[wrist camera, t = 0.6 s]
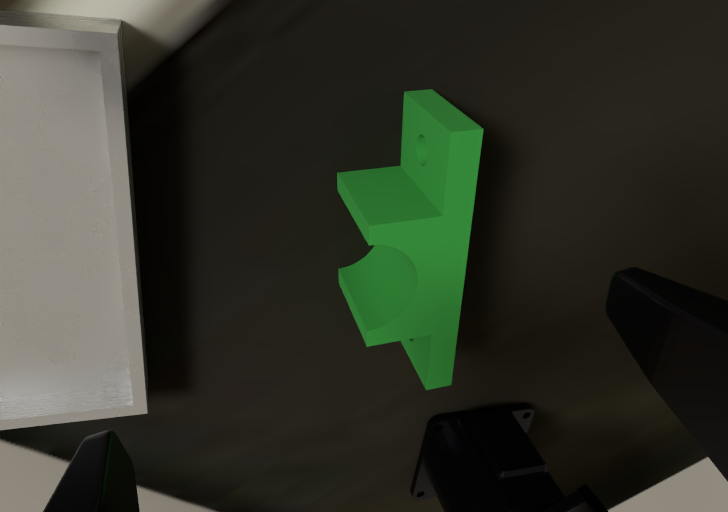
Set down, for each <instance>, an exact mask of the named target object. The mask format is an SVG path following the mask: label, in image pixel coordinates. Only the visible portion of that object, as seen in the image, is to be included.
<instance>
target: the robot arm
mask: <svg viewBox="0 0 728 512" xmlns="http://www.w3.org/2000/svg"><path fill="white" fill-rule="evenodd" d="M605 307H606V313H607V315H608V317H609V319H610V321H611V322H612V324H613V325H614V327H615V329H616V330H617V332H618V333H619V335H620V336H621V338H622V340H623V341H624V343H625V344H626V346H627V347H628V349H629V351H630V352H631V354H632V355H633V357H634V359H635V360H636V362H637V363H638V365H639V366H640V368H641V370H642V371H643V373H644V374H645V376H646V377H647V379H648V380H649V381H650V383H651V384H652V386H653V387H654V388H655V390H656V391H657V392H658V394H659V395H660V396H661V398H662V399H663V400H664V401H665V403H666V404H667V405H668V406H669V408H670V409H671V410H672V411H673V413H674V414H675V415H676V417H677V418H678V419H679V420H680V422H681V423H682V424H683V425H684V427H685V428H686V429H687V430H688V432H689V433H690V434H691V436H692V437H693V438H694V439H695V441H696V442H697V443H698V444H699V446H700V447H701V448H702V449H703V451H704V452H705V453H706V455H707V456H708V457H709V458H710V459H711V461H712V462H713V463H714V465H715V466H716V467H717V468H718V470H719V471H720V472H721V473H722V475H723V476H724V477H725V479H726V480H727V481H728V301H727V300H724V299H721V298H718V297H716V296H713V295H710V294H708V293H705V292H702V291H699V290H697V289H694V288H691V287H689V286H686V285H683V284H680V283H678V282H675V281H672V280H670V279H667V278H664V277H662V276H659V275H656V274H653V273H651V272H648V271H645V270H643V269H640V268H636V267H631V268H627V269H624V270H621V271H618V272H615V273H614V274H613V275H612V277H611V280H610V285H609V289H608V294H607V299H606V304H605ZM533 416H534V410H533V409H532V407H531V406H530V405H529V404H522V405H515V406H507V407H500V408H492V409H485V410H477V411H470V412H462V413H455V414H448V415H440V416H435V417H433V418H431V419H430V420H429V421H428V423H427V427H426V431H425V435H424V439H423V443H422V447H421V451H420V455H419V458H418V462H417V466H416V470H415V474H414V478H413V482H412V486H411V490H410V492H411V494H412V497H413V498H414V499H415V500H420V499H426V498H431V497H438V499H439V501H440V503H441V506H442V508H443V510H444V512H608V511H607V510H606V508H605V507H604V506H603V504H602V503H601V502H600V501H599V499H598V498H597V497H596V496H595V494H594V493H593V492H592V491H591V489H590V488H589V487H588V486H587V484H584V485H583V486H581V487H579V488H577V491H576V492H574V493H573V494H571V495H569V496H567V497H565V496H564V495H563V493H562V492H561V490H560V489H559V487H558V486H557V484H556V483H555V481H554V479H553V478H552V476H551V475H550V473H549V472H548V470H547V469H548V466H547V464H546V463H545V461H544V460H543V458H542V457H541V455H540V454H539V452H538V451H537V449H536V448H535V446H534V445H533V443H532V442H531V440H530V439H529V437H528V436H527V432H528V429H529V427H530V424H531V421H532V419H533ZM43 512H139V504H138V496H137V487H136V479H135V472H134V467H133V463H132V461H131V458H130V457H129V455H128V453H127V452H126V450H125V448H124V447H123V445H122V443H121V441H120V440H119V438H118V436H117V435H116V433H115V432H113V431H112V430H107V431H104V432H100V433H97V434H94V435H91V436H88V437H86V438H85V439H84V440H83V441H82V443H81V444H80V446H79V448H78V450H77V451H76V453H75V455H74V457H73V459H72V460H71V462H70V464H69V466H68V468H67V470H66V471H65V473H64V475H63V477H62V478H61V480H60V482H59V484H58V486H57V487H56V489H55V491H54V493H53V495H52V496H51V498H50V500H49V502H48V504H47V506H46V507H45V509H44V511H43Z"/></svg>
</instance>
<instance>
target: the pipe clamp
mask: <svg viewBox="0 0 728 512" xmlns="http://www.w3.org/2000/svg"><path fill="white" fill-rule="evenodd" d="M482 137H483V128H482V127H480V126H479V125H478V124H476V123H475V122H474V121H473V120H471V119H470V118H469V117H467V116H466V115H465V114H463V113H462V112H461V111H460V110H458V109H457V108H456V107H454V106H453V105H452V104H450V103H449V102H448V101H447V100H445V99H444V98H443V97H441V96H440V95H439V94H437V93H436V92H435V91H433V90H419V91H406V92H404V106H403V127H402V148H401V166H395V167H386V168H377V169H368V170H359V171H350V172H341V173H337V186H338V192H339V194H340V195H341V197H342V199H343V201H344V202H345V204H346V206H347V208H348V209H349V211H350V213H351V215H352V217H353V218H354V220H355V222H356V224H357V225H358V227H359V229H360V231H361V232H362V234H363V236H364V238H365V239H366V241H367V243H368V245H375V246H374V247H373V249H372V250H371V251H370V252H369V253H368V254H367V255H366V256H365V257H364V258H363V259H361V260H360V261H358V262H357V263H355V264H353V265H350V266H348V267H344V268H340V269H339V284H340V287H341V289H342V291H343V293H344V296H345V298H346V300H347V302H348V305H349V307H350V309H351V312H352V314H353V316H354V318H355V321H356V323H357V325H358V327H359V330H360V332H361V334H362V337H363V339H364V341H365V343H366V346H367V347H368V346H373V345H379V344H384V343H390V342H395V341H401V343H402V344H403V346H404V348H405V350H406V352H407V354H408V356H409V358H410V360H411V362H412V364H413V366H414V368H415V369H416V371H417V373H418V375H419V377H420V379H421V381H422V383H423V385H424V387H425V389H426V390H429V389H434V388H439V387H444V386H448V385H451V382H452V374H453V366H454V358H455V350H456V343H457V335H458V327H459V319H460V311H461V303H462V295H463V287H464V279H465V271H466V263H467V256H468V248H469V240H470V232H471V224H472V216H473V208H474V200H475V192H476V184H477V177H478V169H479V161H480V153H481V145H482Z"/></svg>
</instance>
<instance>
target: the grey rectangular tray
mask: <svg viewBox="0 0 728 512" xmlns="http://www.w3.org/2000/svg"><path fill="white" fill-rule="evenodd" d="M147 410H148V370H147V357H146V343H145V330H144V317H143V304H142V290H141V277H140V264H139V251H138V238H137V224H136V211H135V198H134V185H133V171H132V158H131V145H130V132H129V118H128V105H127V92H126V79H125V65H124V52H123V39H122V26H121V20H116V19H104V18H91V17H79V16H66V15H54V14H42V13H29V12H17V11H4V10H0V430H6V429H15V428H23V427H32V426H41V425H50V424H59V423H67V422H76V421H85V420H94V419H103V418H111V417H120V416H129V415H138V414H147Z"/></svg>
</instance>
